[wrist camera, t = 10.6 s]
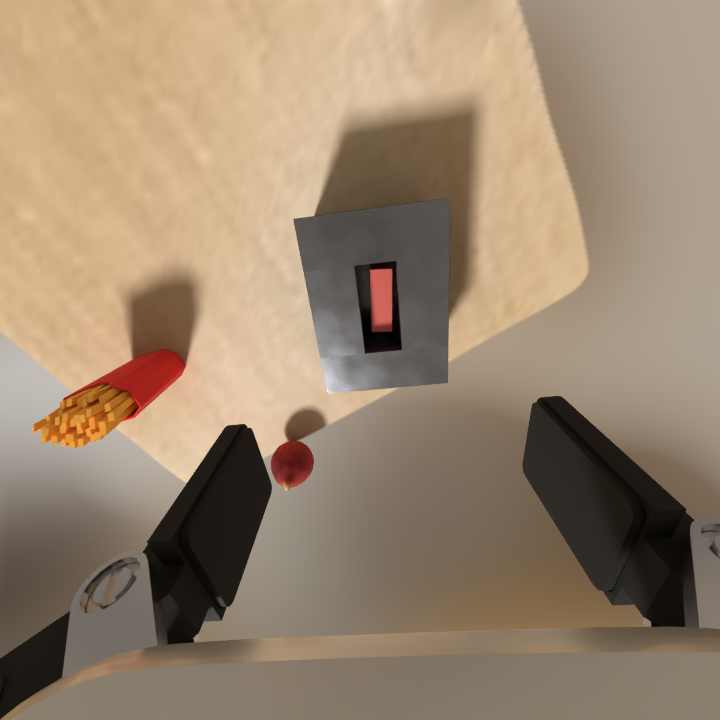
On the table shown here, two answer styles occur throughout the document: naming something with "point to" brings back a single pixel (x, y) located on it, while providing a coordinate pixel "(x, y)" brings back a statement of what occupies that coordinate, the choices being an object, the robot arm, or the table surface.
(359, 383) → the grey slotted box
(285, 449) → the onion
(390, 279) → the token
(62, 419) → the french fries
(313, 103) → the table surface
